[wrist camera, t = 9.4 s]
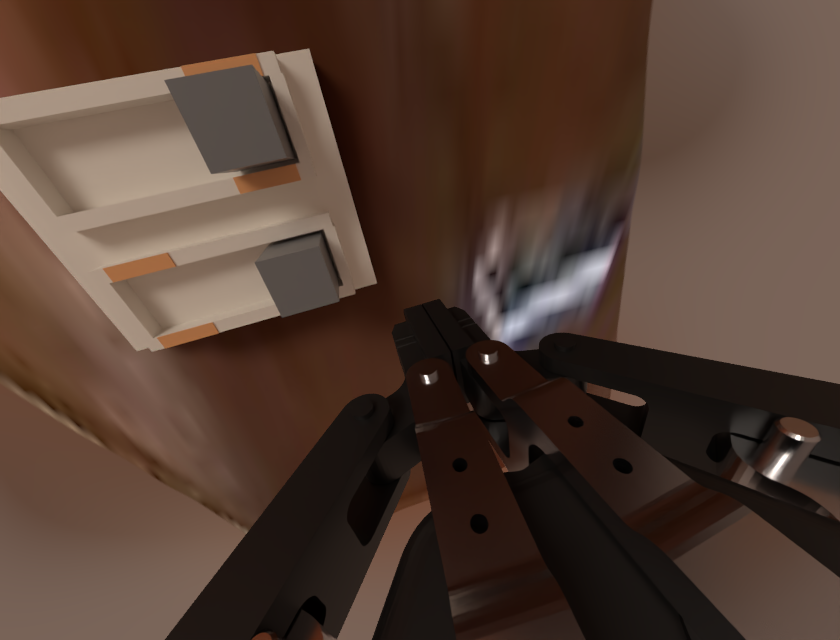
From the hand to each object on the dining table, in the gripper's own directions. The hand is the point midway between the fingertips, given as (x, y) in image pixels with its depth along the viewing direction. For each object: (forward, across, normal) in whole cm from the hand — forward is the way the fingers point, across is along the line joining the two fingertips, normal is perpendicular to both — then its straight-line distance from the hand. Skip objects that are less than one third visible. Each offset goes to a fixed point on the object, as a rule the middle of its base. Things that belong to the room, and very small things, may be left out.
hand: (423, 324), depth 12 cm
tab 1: (+14, +6, -9) cm, 18 cm away
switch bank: (+17, +11, -5) cm, 21 cm away
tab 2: (+15, +6, 0) cm, 16 cm away
